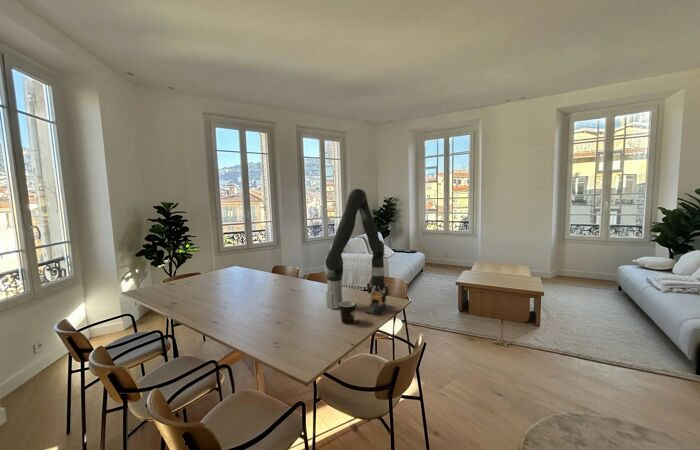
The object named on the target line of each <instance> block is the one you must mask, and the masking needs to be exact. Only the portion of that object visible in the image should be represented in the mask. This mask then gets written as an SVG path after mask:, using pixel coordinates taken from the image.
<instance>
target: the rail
mask: <svg viewBox="0 0 700 450" xmlns="http://www.w3.org/2000/svg"><path fill="white" fill-rule="evenodd" d="M391 307H392V305H390V304H387V301H386V302H385V303H383V304H382V305H379V300H375V301H373V302H372V303H371V302H370V303H369V308H368V309H367V310H365V311H364V313H365V314H368V315H375V316H381V315H382V314H383V313H385V312H386V311H387V310H389V309H390V308H391Z"/></svg>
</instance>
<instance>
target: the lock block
mask: <svg viewBox="0 0 700 450" xmlns="http://www.w3.org/2000/svg"><path fill="white" fill-rule="evenodd" d="M375 300H379V305H382V304H383V303H382V294H381V293H380V292H379V291H378V292H377V291H375V293H374V294H373V295H371V294H370V303H372V302H373V301H375ZM385 302H386V303H387V296H385ZM385 302H384V303H385Z"/></svg>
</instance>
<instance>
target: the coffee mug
mask: <svg viewBox="0 0 700 450" xmlns="http://www.w3.org/2000/svg"><path fill="white" fill-rule="evenodd" d="M339 305H340V308H339V311H340V316H341V323H342V324H343V325H351V324H353V323H354V322H355V313H356V312H355V311H356V309H357V303H356V302H354V301H350V300H348V301H347V300H346V301H345V300H344V301H343V302H341V303H340V304H339Z"/></svg>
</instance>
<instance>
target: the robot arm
mask: <svg viewBox="0 0 700 450" xmlns="http://www.w3.org/2000/svg"><path fill="white" fill-rule="evenodd" d="M368 202H369V201H368V198H367V194H366V192H365V191H364V190H363V189H361V188H354V189H352V190H351V191H350V192H349V193H348V197H347V202H346V205H345V209H344V212H343V214H342V215H341V216H342V217H341V219H340V221H339V224H338V226H337V229H336V232H335V235H334V239H333V241H332V245H331V247H330V249H329V252H328V254H327V256H326V258H325V261H324V263H325V264H324V265H325V267H326V268H327V269H328V273H327V277H326V280H327V281H326V283H327V285H326V286H327V290H326V291H325V292H326V293H325V294H326V307H327V308H329V309H330V310H337V309H340V305H339V304H340V303H341V302H344V299H343V295H344V294H343V274H344V259H343V256H342V255H343V252H344V249H345V248H346V246H348V243H349V241H350V240H351V237H352V234H353V232H354V230H355V225H356V220H357V213H358V212H359V214H360V218H361V223H362V227H363V230H364V232H365V234H366V237H367V241H368V245H369V248H370V250H371V252H372V258H371V282H368V283H367V284H366V286H367V293H368V294H370V296H371V295H373V294H374V293H376V292H377V291H378V292H379V293H381V294H382V303H384V302H385V296H386V297H387V296H389V294H390V285H386V284H385V267H384V266H385V264H384V263H385V262H384V256H385V255H384V254H385V244H384V242H383V241H382V240H381V239H380V238H379V232H378V228H377V226H376V223H375V221H374V218H373V216H372V213H371V210H370V205H369V203H368Z"/></svg>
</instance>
